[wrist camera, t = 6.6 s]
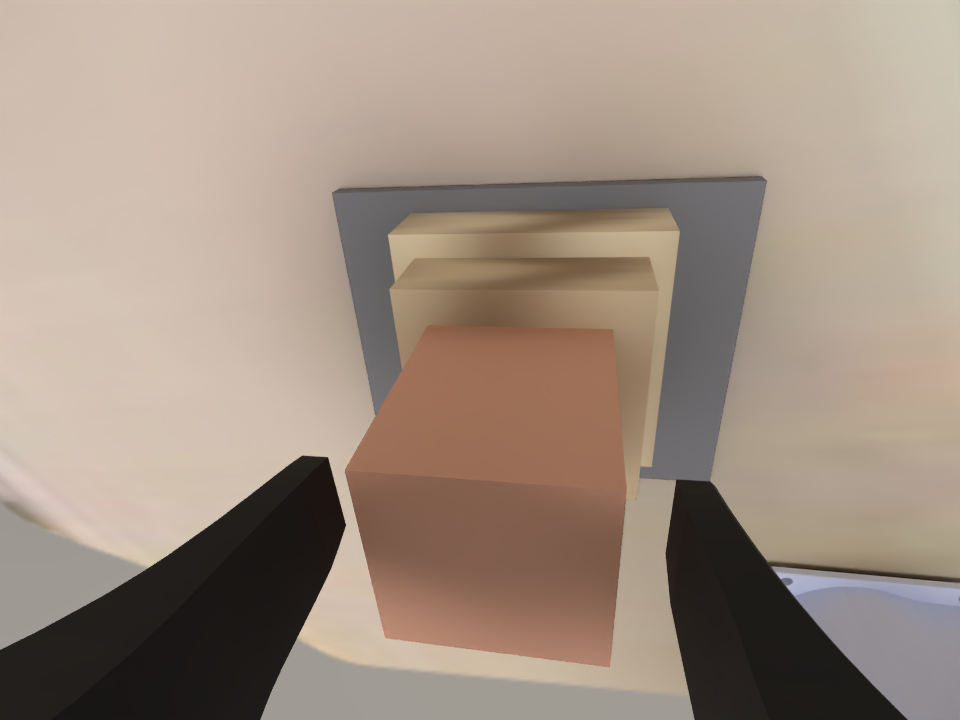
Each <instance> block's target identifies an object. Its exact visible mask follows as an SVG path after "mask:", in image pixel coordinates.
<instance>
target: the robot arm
mask: <svg viewBox="0 0 960 720" xmlns="http://www.w3.org/2000/svg"><path fill="white" fill-rule="evenodd" d="M345 527H346V524H345V520H344V516H343V512H342V509H341V505H340V501H339V497H338V493H337V490H336V486H335V482H334V478H333V475H332V471H331V467H330V463H329V459H328V457H315V456H301V457H300V458H298V459H297V460H295V461H294V462H293V463H291V464H290V465H288V466H287V467H286V468H285V469H283V470H282V471H281V472H279V473H278V474H277V475H275V476H274V477H273V478H272V479H270V480H269V481H268V482H266V483H265V484H264V485H263V486H261V487H260V488H259V489H257V490H256V491H255V492H254V493H252V494H251V495H250V496H248V497H247V498H246V499H244V500H243V501H242V502H241V503H239V504H238V505H237V506H235V507H234V508H233V509H231V510H230V511H229V512H227V513H226V514H225V515H224V516H222V517H221V518H220V519H218V520H217V521H216V522H214V523H213V524H211V525H210V526H209V527H207V528H206V529H204V530H203V531H202V532H200V533H199V534H197V535H196V536H194V537H193V538H192V539H190V540H189V541H187V542H186V543H185V544H183V545H182V546H180V547H179V548H178V549H176V550H175V551H173V552H172V553H171V554H169V555H168V556H166V557H165V558H163V559H162V560H160V561H159V562H157V563H156V564H154V565H152V566H151V567H149V568H148V569H146V570H145V571H143V572H142V573H140V574H138V575H137V576H135V577H133V578H132V579H130V580H129V581H127V582H125V583H124V584H122V585H120V586H119V587H117V588H115V589H114V590H112V591H110V592H109V593H107V594H105V595H104V596H102V597H100V598H98V599H97V600H95V601H93V602H91V603H89V604H87V605H86V606H84V607H82V608H80V609H79V610H77V611H75V612H73V613H71V614H69V615H67V616H65V617H64V618H62V619H60V620H58V621H56V622H55V623H53V624H51V625H49V626H47V627H45V628H43V629H41V630H39V631H38V632H36V633H34V634H32V635H30V636H27V637H26V638H24V639H21V640H20V641H17V642H15V643H13V644H11V645H9V646H8V647H5V648H3V649H1V650H0V720H260V719H261V716H262V714H263V711H264V708H265V706H266V704H267V701H268V698H269V696H270V693H271V691H272V689H273V686H274V684H275V682H276V680H277V678H278V676H279V673H280V671H281V669H282V667H283V665H284V663H285V661H286V659H287V657H288V655H289V653H290V651H291V649H292V647H293V645H294V643H295V641H296V639H297V637H298V635H299V633H300V631H301V629H302V627H303V625H304V623H305V621H306V619H307V617H308V615H309V613H310V611H311V609H312V607H313V605H314V603H315V601H316V599H317V597H318V595H319V593H320V591H321V589H322V587H323V585H324V583H325V580H326V578H327V576H328V574H329V572H330V570H331V567H332V565H333V562H334V559H335V556H336V554H337V551H338V548H339V545H340V542H341V539H342V536H343V533H344V530H345ZM666 562H667V573H668V584H669V594H670V603H671V609H672V614H673V619H674V624H675V629H676V633H677V638H678V643H679V648H680V653H681V657H682V662H683V667H684V672H685V676H686V681H687V686H688V690H689V695H690V700H691V704H692V709H693V714H694V718H695V720H960V583H952V582H941V581H929V580H918V579H907V578H896V577H885V576H874V575H863V574H852V573H841V572H830V571H819V570H808V569H797V568H786V567H775V566H770V565H769V563H768V562H767V561H766V559H765V558H764V557H763V556H762V554H761V553H760V552H759V550H758V549H757V547H756V546H755V545H754V543H753V542H752V541H751V539H750V538H749V536H748V535H747V533H746V532H745V531H744V529H743V528H742V526H741V525H740V523H739V522H738V521H737V519H736V518H735V516H734V515H733V513H732V512H731V510H730V509H729V507H728V506H727V504H726V503H725V501H724V499H723V498H722V496H721V495H720V493H719V492H718V490H717V488H716V487H715V486H714V485H713V484H712V483H711V482H710V481H696V480H680V479H677V480H676V487H675V493H674V500H673V507H672V514H671V520H670V527H669V534H668V541H667V547H666Z"/></svg>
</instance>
